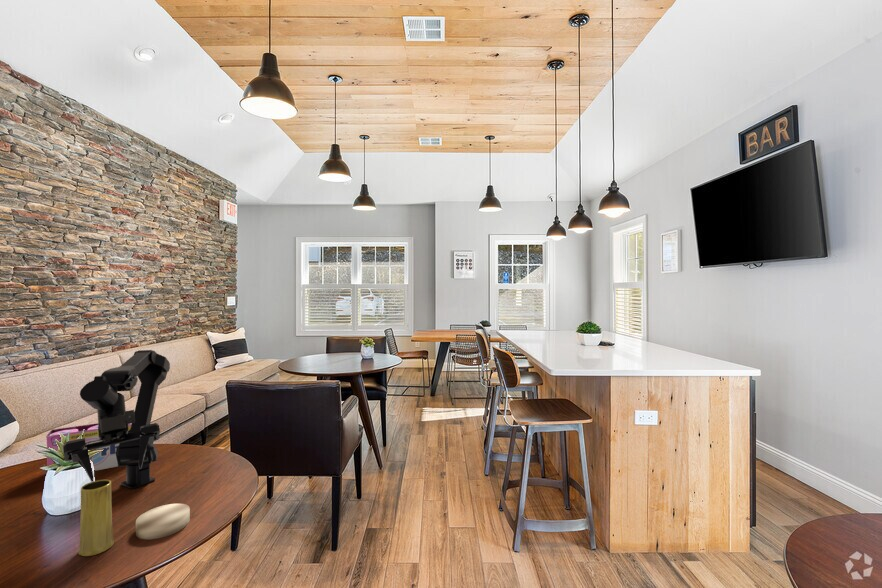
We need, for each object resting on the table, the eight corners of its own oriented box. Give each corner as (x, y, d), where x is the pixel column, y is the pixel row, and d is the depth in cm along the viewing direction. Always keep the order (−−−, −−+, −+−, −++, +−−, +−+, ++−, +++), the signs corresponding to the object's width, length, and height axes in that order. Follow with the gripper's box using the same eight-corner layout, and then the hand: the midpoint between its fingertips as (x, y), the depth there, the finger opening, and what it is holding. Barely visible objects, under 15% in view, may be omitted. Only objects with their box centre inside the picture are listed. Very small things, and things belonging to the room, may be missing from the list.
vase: (92, 540, 96) (91, 479, 96) (120, 539, 96) (120, 478, 96) (71, 557, 90) (70, 491, 90) (101, 556, 90) (100, 490, 90)
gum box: (143, 454, 147) (142, 416, 147) (142, 462, 140) (142, 422, 140) (51, 471, 133) (51, 429, 133) (45, 480, 127) (45, 436, 127)
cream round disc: (125, 532, 99) (125, 520, 99) (173, 511, 109) (173, 499, 109) (152, 545, 94) (152, 532, 94) (199, 521, 104) (199, 509, 104)
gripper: (60, 410, 96) (62, 476, 90) (157, 393, 108) (165, 450, 102) (64, 429, 103) (66, 492, 97) (154, 411, 115) (162, 466, 109)
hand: (117, 474), depth 101 cm, fingers open, 9 cm apart
